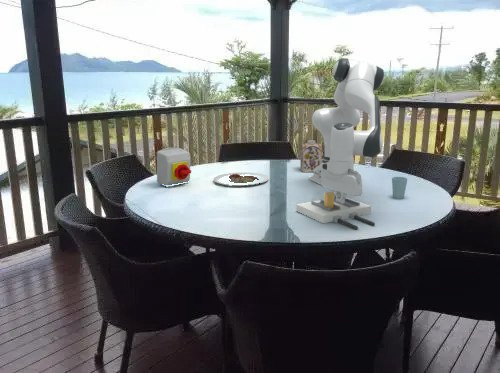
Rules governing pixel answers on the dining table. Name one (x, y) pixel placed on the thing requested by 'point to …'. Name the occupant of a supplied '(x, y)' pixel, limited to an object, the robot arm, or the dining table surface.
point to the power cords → (352, 216)
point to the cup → (399, 187)
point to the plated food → (241, 178)
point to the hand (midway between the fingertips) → (340, 202)
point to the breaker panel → (332, 209)
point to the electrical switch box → (173, 166)
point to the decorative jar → (310, 156)
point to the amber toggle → (329, 199)
